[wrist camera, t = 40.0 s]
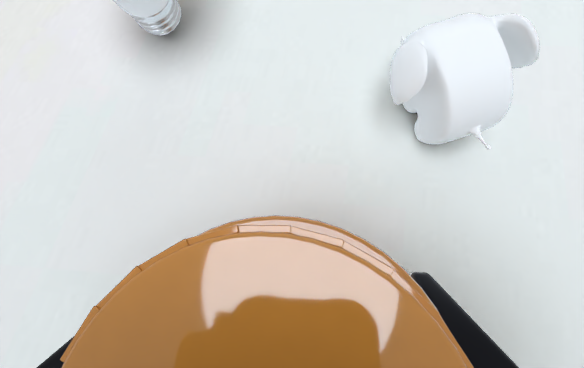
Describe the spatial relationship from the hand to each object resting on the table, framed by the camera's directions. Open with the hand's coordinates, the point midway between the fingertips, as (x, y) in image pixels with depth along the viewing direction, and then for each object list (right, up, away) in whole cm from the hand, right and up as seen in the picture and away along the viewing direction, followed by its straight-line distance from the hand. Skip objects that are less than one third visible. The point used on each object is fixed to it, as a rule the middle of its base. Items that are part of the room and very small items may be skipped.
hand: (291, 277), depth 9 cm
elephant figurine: (+8, +7, +10) cm, 15 cm away
